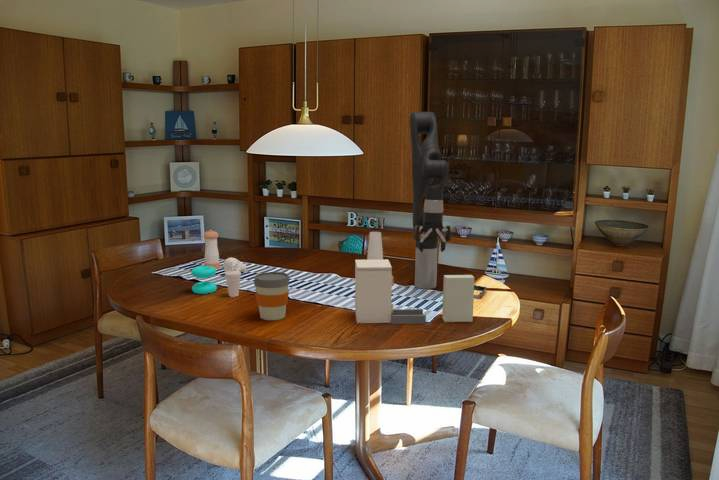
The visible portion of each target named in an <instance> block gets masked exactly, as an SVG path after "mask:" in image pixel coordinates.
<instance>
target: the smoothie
mask: <svg viewBox="0 0 719 480" xmlns="http://www.w3.org/2000/svg"><path fill="white" fill-rule="evenodd" d="M224 276H225V280H226V285H227V291H228V297H229V296H230V297H229V298H235V297H236V296H237V297H238V296H239V294H240V292H239V291H240V285H241V283H240V282H241V280H240V279H241V276H242V273H241V272H240V271H233V262H231V271H228V272H225V271H224Z"/></svg>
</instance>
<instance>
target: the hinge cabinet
mask: <svg viewBox="0 0 719 480" xmlns="http://www.w3.org/2000/svg"><path fill="white" fill-rule="evenodd" d="M354 263H355V266H354V267H355V270H354V275H355V279H354V283H355V284H354V287H355V289H354V291H355V293H354V297H355V298H354V310H355V311H354V312H355V313H354V314H355V321H356V324H377V323H378V324H382V323H384V324H385V323H387V324H388V323H389V324H391V325H426V324H427V314H424V310H423V308H405V309H403V308H402V309H401V308H399V309H397V308H396V309H394V304H393V303H392V286H394V275H393V274H392V273H393V267H392V265H391V262H390V261H389V259H388V258H387V259H384V258H383V260H368V259H355V262H354Z"/></svg>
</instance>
